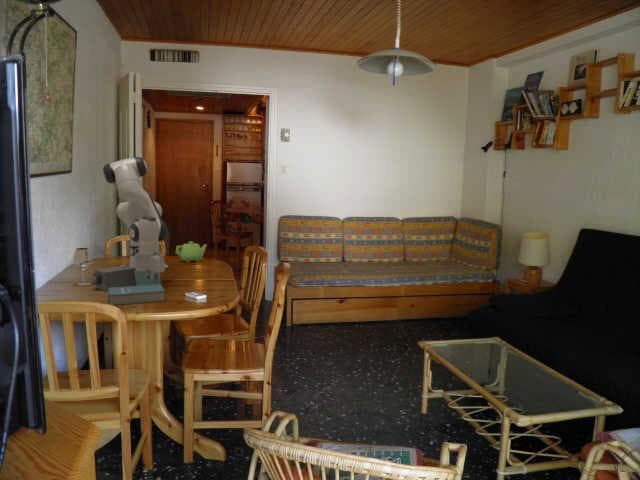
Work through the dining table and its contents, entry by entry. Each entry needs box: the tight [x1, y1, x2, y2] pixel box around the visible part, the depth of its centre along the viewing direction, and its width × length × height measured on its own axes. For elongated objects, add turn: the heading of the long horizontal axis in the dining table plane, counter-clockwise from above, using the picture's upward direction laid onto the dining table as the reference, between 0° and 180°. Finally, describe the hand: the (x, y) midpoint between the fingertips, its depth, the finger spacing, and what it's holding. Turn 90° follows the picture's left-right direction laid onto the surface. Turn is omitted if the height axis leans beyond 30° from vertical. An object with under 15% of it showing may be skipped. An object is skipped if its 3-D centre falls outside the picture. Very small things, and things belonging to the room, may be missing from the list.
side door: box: [135, 270, 162, 286], centre depth 256 cm, size 15×2×8 cm, turn 65°
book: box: [107, 283, 166, 306], centre depth 234 cm, size 23×16×5 cm
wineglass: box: [73, 247, 93, 287], centre depth 261 cm, size 8×8×18 cm
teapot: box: [174, 241, 208, 264], centre depth 331 cm, size 20×13×13 cm
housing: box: [92, 264, 136, 292], centre depth 256 cm, size 18×10×10 cm, turn 139°
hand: (150, 279), depth 252 cm, fingers closed
